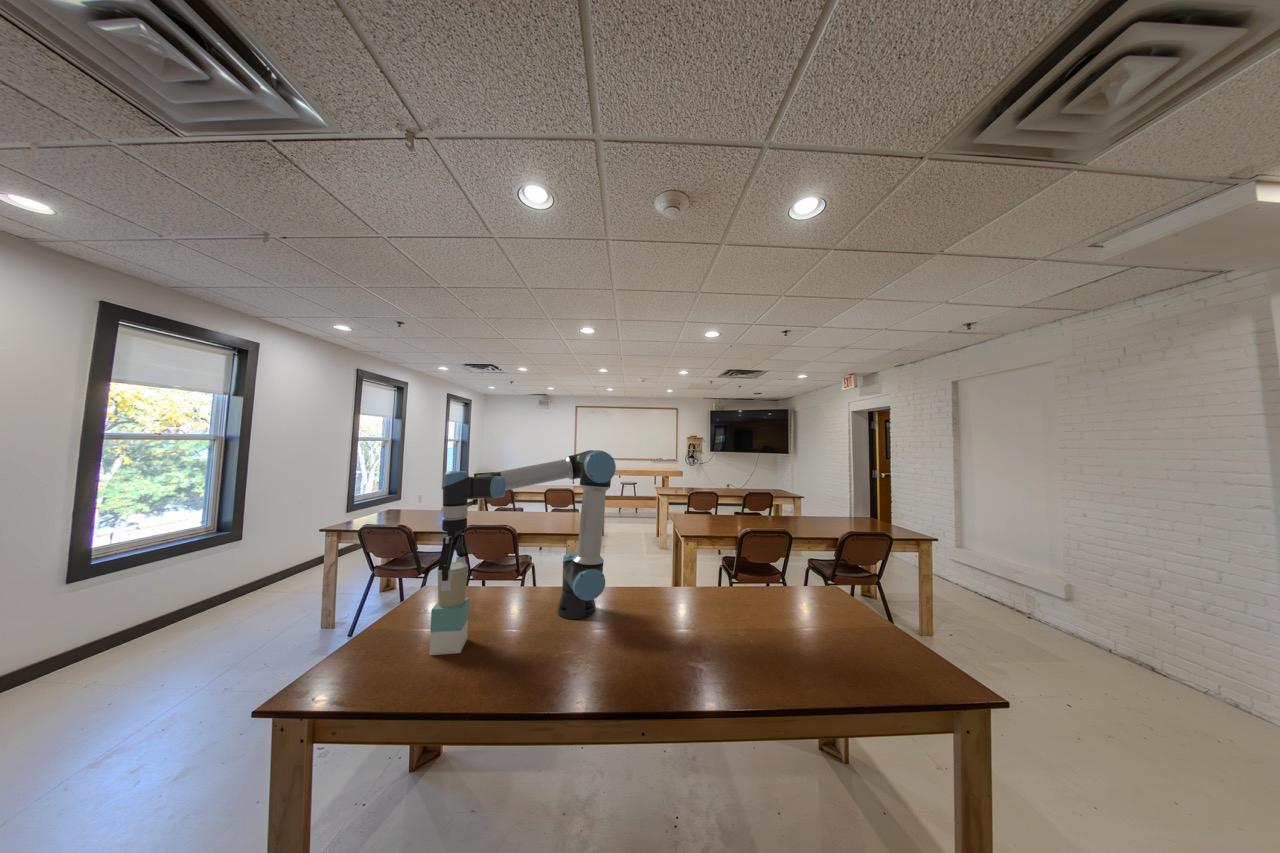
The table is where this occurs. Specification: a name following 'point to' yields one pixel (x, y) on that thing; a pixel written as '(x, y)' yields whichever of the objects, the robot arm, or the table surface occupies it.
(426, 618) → the table surface
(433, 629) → the teal block
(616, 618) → the table surface
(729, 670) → the table surface
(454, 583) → the coffee cup
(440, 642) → the cream block
